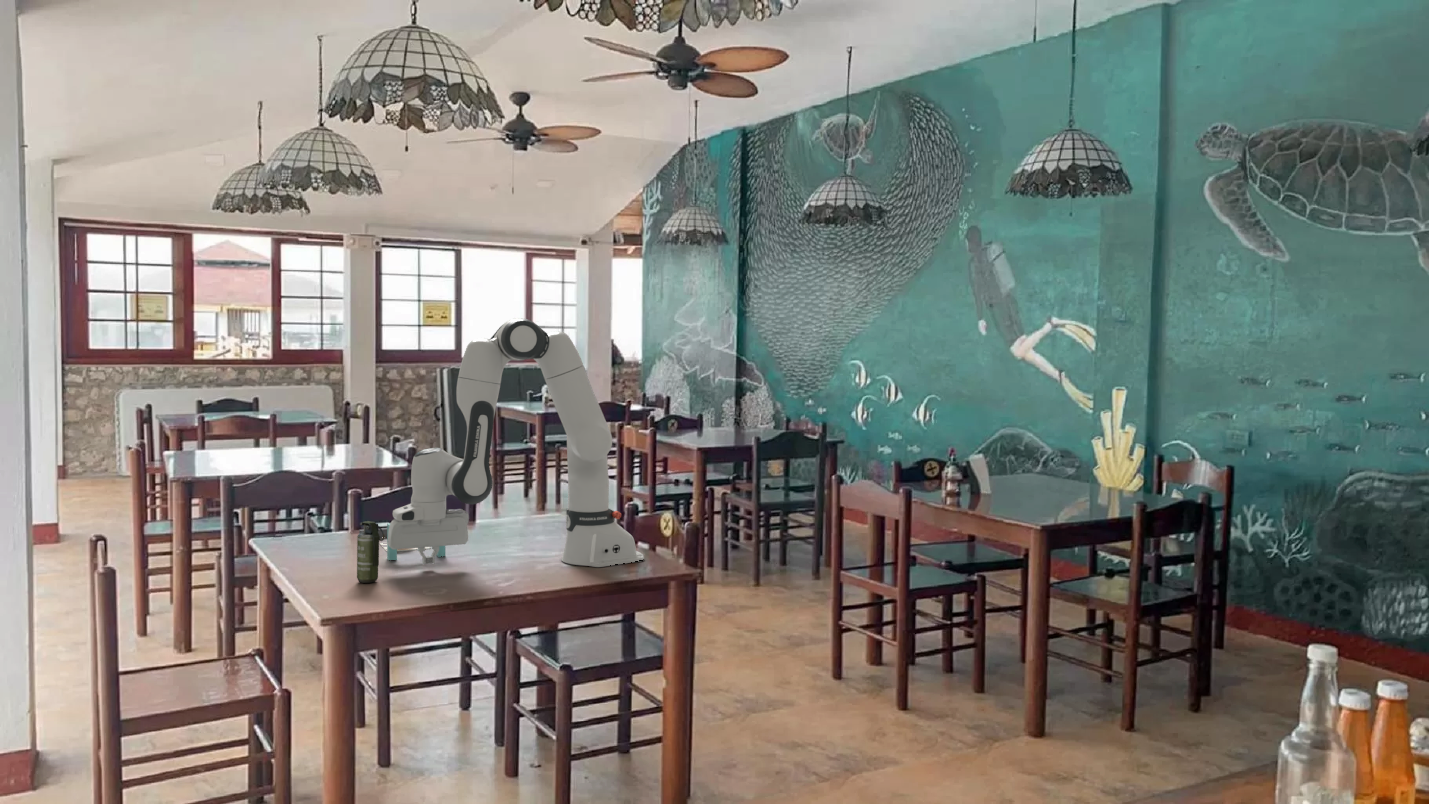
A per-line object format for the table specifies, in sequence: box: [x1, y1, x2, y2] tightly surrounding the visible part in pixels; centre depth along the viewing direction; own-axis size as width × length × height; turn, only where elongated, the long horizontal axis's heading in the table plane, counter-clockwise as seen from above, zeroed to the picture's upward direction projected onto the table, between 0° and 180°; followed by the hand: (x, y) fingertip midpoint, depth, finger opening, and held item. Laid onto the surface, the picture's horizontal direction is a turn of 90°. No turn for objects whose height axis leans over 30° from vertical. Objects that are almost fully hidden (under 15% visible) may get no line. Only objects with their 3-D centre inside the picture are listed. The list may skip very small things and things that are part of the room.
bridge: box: [386, 522, 446, 561], centre depth 297 cm, size 3×15×10 cm, turn 117°
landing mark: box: [379, 542, 432, 552], centre depth 312 cm, size 12×12×1 cm
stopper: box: [358, 527, 387, 539], centre depth 325 cm, size 20×2×2 cm, turn 117°
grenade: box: [356, 520, 385, 584], centre depth 269 cm, size 6×6×15 cm
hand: (428, 563), depth 284 cm, fingers closed
